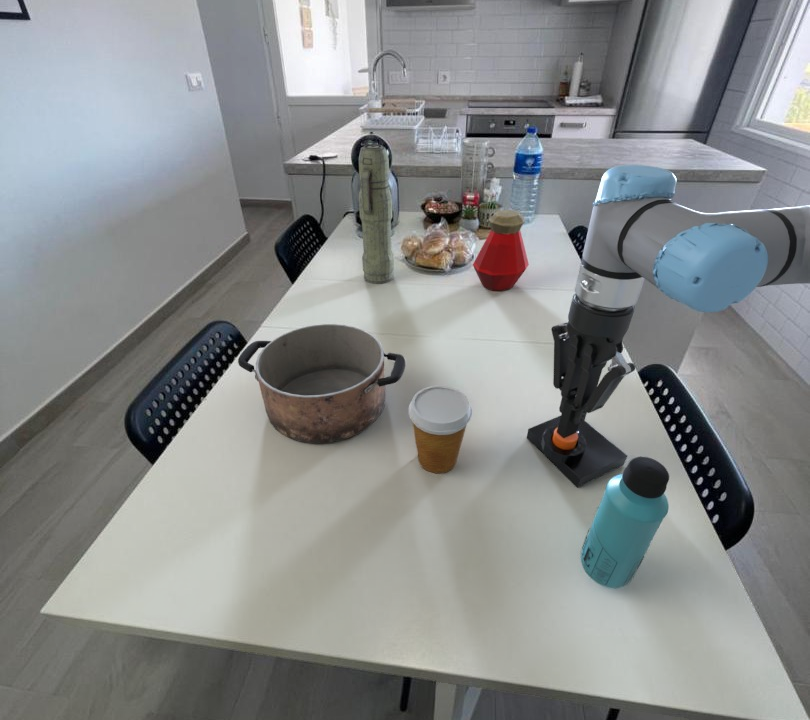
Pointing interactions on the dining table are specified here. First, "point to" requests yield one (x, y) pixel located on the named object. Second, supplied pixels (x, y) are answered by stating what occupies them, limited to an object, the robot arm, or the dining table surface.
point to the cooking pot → (322, 381)
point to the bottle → (502, 252)
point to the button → (564, 441)
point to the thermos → (375, 214)
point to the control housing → (578, 452)
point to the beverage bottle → (626, 522)
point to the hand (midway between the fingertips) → (566, 432)
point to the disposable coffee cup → (439, 426)
